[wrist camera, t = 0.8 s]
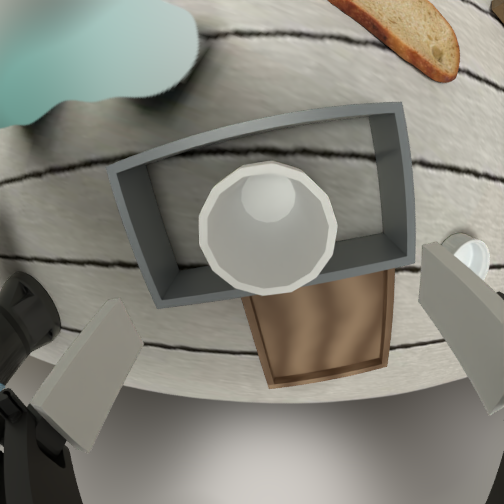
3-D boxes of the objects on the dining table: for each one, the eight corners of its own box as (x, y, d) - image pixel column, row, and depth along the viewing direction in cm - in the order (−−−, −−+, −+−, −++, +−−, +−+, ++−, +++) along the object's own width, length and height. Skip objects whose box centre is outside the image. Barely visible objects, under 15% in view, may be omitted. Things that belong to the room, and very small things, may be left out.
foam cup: (327, 194, 30) (363, 233, 18) (271, 250, 33) (271, 316, 21) (264, 136, 28) (260, 133, 16) (209, 197, 31) (172, 237, 19)
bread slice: (299, -31, 18) (302, -46, 15) (419, -23, 16) (430, -33, 12) (346, 87, 25) (356, 81, 22) (463, 84, 22) (479, 82, 19)
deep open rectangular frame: (175, 278, 35) (157, 308, 29) (136, 159, 29) (105, 167, 23) (390, 239, 31) (414, 263, 25) (374, 107, 25) (401, 101, 19)
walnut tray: (269, 377, 42) (269, 389, 39) (240, 278, 35) (238, 288, 32) (382, 356, 39) (387, 366, 37) (387, 250, 32) (394, 258, 30)
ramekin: (428, 239, 31) (444, 252, 27) (473, 221, 29) (491, 231, 25) (431, 292, 34) (444, 308, 30) (473, 273, 32) (488, 286, 28)
